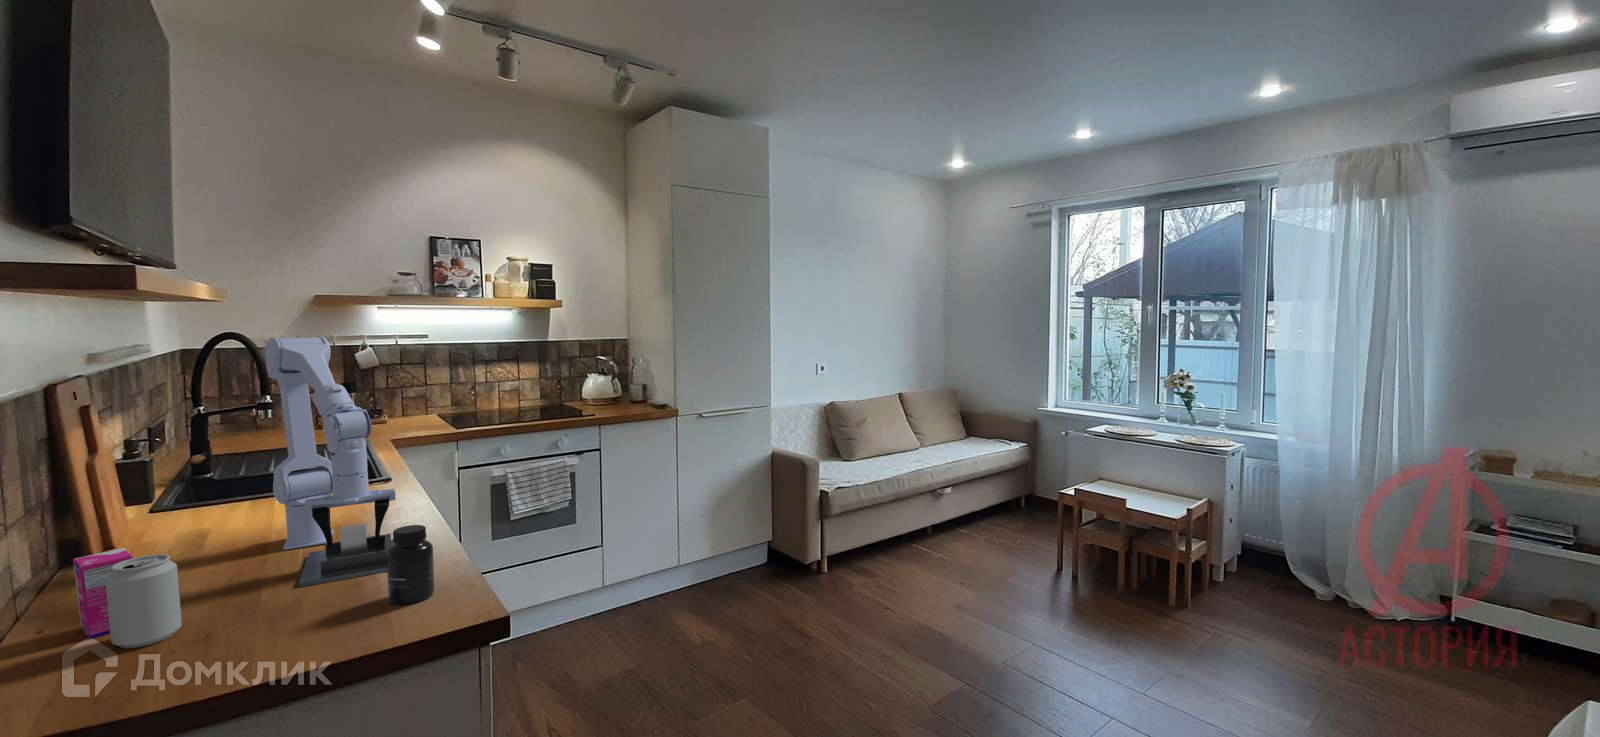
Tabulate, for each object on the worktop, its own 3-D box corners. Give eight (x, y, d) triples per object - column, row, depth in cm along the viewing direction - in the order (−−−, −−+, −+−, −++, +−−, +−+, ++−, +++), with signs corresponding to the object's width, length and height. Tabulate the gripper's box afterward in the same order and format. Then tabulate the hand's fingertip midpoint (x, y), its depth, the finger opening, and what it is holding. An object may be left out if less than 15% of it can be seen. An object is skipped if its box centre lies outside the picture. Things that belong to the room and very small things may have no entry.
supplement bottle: (386, 609, 106) (382, 538, 106) (390, 593, 112) (386, 526, 112) (434, 600, 110) (431, 531, 109) (436, 586, 116) (432, 520, 115)
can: (102, 643, 96) (95, 564, 95) (170, 622, 102) (163, 548, 101) (123, 655, 92) (115, 573, 91) (191, 633, 99) (185, 556, 98)
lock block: (343, 556, 128) (341, 527, 128) (367, 552, 130) (365, 523, 130) (342, 564, 124) (340, 534, 124) (367, 560, 126) (365, 530, 126)
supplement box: (79, 630, 100) (72, 557, 99) (133, 615, 105) (127, 546, 104) (86, 640, 97) (79, 565, 96) (141, 625, 101) (135, 553, 101)
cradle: (309, 556, 131) (308, 542, 130) (402, 541, 139) (401, 527, 139) (298, 587, 115) (297, 570, 115) (403, 568, 124) (403, 553, 124)
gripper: (300, 482, 119) (305, 554, 120) (394, 472, 126) (397, 540, 127) (305, 474, 125) (309, 543, 126) (393, 465, 132) (397, 530, 133)
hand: (354, 541), depth 127 cm, fingers open, 7 cm apart
